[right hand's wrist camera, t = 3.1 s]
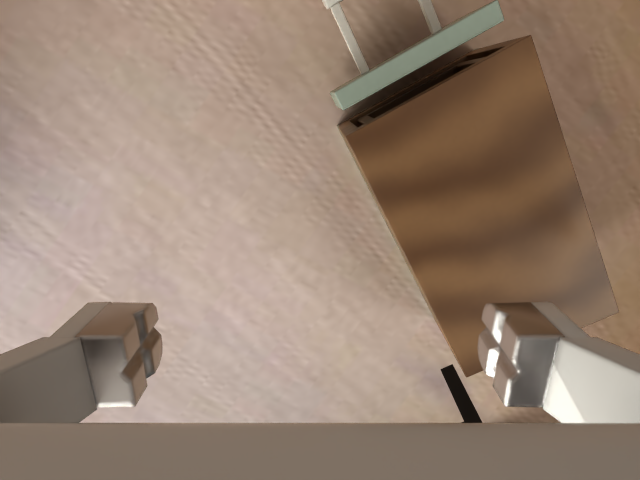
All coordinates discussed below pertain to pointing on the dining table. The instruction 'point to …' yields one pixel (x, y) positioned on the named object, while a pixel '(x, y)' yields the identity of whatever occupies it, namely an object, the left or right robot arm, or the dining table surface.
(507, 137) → the cabinet
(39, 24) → the dining table surface
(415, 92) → the drawer
